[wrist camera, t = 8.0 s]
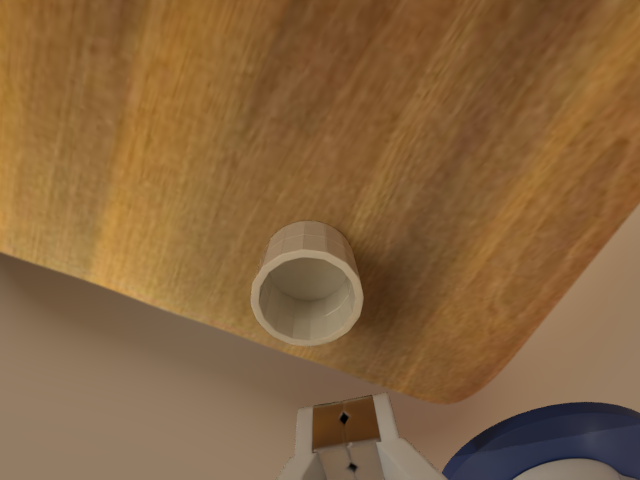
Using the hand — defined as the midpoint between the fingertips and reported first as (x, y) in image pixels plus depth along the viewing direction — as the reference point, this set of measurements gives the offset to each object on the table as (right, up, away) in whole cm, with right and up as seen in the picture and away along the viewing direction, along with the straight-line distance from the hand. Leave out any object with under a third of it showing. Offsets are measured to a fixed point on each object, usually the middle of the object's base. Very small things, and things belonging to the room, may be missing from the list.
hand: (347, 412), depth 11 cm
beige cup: (-2, +4, +13) cm, 14 cm away
